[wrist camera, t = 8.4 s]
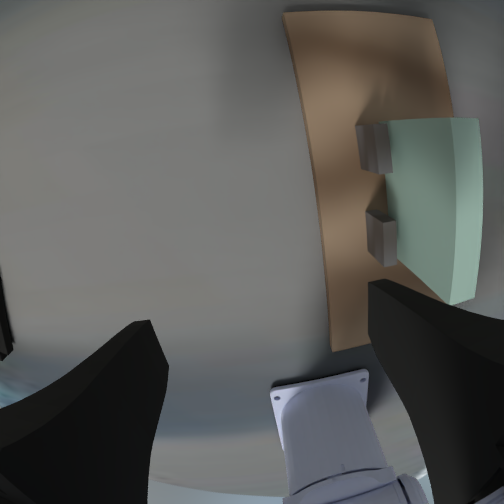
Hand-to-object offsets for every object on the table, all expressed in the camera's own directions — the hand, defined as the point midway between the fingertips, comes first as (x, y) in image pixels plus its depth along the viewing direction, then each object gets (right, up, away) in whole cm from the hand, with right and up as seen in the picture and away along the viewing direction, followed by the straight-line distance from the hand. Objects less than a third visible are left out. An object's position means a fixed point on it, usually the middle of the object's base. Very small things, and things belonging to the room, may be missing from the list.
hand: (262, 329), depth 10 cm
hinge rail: (+8, +7, +8) cm, 13 cm away
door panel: (+8, +6, +7) cm, 13 cm away
